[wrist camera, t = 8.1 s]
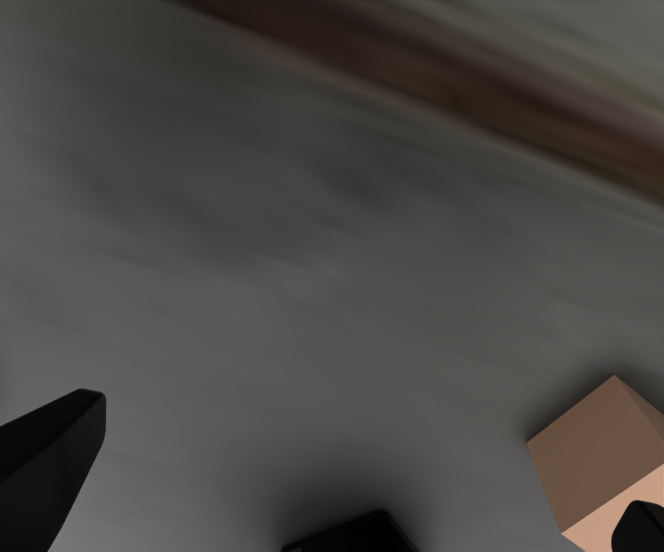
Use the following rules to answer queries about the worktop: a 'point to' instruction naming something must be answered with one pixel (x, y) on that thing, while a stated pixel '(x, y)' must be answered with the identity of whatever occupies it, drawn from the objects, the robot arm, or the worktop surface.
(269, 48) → the worktop surface
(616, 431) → the terracotta cube
